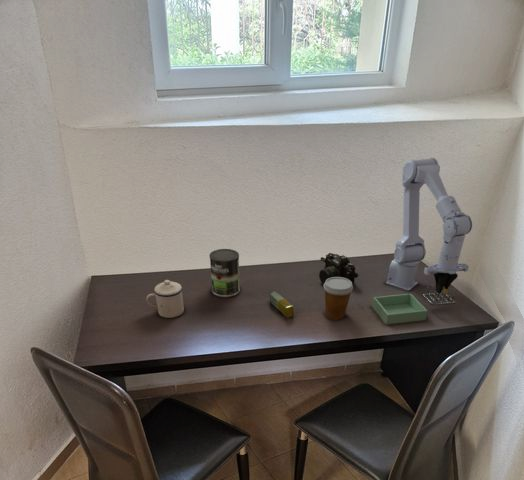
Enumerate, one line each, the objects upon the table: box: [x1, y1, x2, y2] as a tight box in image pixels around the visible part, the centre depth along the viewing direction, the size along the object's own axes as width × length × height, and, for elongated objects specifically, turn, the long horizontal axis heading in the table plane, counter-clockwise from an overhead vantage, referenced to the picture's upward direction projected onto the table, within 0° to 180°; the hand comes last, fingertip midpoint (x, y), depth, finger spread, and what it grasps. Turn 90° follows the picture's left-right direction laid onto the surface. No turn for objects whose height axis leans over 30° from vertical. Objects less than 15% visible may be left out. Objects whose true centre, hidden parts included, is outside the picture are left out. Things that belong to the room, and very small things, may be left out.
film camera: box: [318, 252, 359, 287], centre depth 172 cm, size 18×12×10 cm
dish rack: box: [421, 286, 456, 306], centre depth 154 cm, size 8×7×5 cm
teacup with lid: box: [146, 279, 185, 319], centre depth 153 cm, size 12×9×12 cm
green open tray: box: [371, 292, 428, 325], centre depth 155 cm, size 14×12×4 cm
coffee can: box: [209, 248, 241, 298], centre depth 165 cm, size 10×10×14 cm
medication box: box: [269, 290, 295, 318], centre depth 157 cm, size 12×3×4 cm, turn 28°
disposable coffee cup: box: [322, 277, 354, 321], centre depth 152 cm, size 10×10×12 cm
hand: (440, 291), depth 154 cm, fingers closed on dish rack
